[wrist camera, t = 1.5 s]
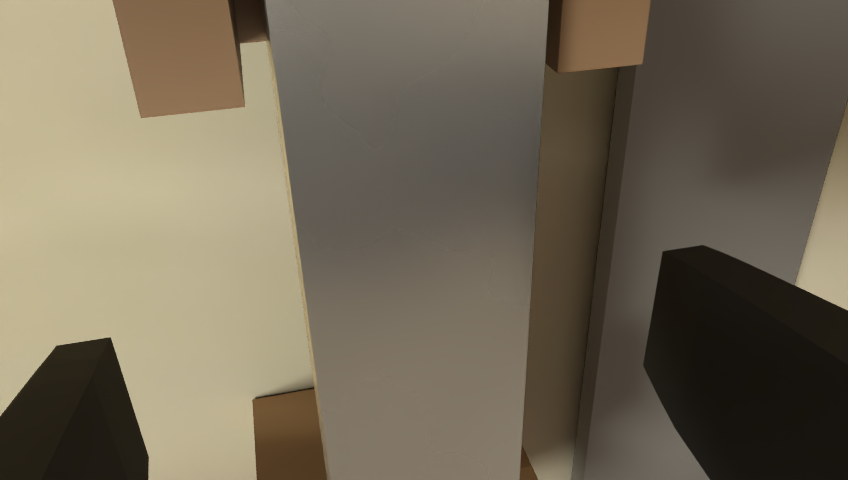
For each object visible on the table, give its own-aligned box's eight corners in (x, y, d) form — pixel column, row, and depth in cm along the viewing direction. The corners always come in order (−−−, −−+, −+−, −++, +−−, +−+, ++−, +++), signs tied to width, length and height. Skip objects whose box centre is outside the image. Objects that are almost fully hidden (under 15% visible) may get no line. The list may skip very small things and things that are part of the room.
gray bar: (725, 459, 20) (738, 477, 19) (569, 493, 19) (579, 513, 18) (971, -454, 10) (1011, -466, 10) (679, -463, 9) (705, -478, 9)
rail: (466, 615, 15) (503, 740, 13) (350, 644, 15) (370, 778, 13) (472, -435, 7) (581, -529, 5) (200, -442, 6) (190, -549, 4)
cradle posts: (480, 442, 17) (564, 652, 13) (268, 484, 16) (287, 724, 12) (493, -225, 10) (681, -232, 6) (130, -214, 9) (59, -216, 5)
